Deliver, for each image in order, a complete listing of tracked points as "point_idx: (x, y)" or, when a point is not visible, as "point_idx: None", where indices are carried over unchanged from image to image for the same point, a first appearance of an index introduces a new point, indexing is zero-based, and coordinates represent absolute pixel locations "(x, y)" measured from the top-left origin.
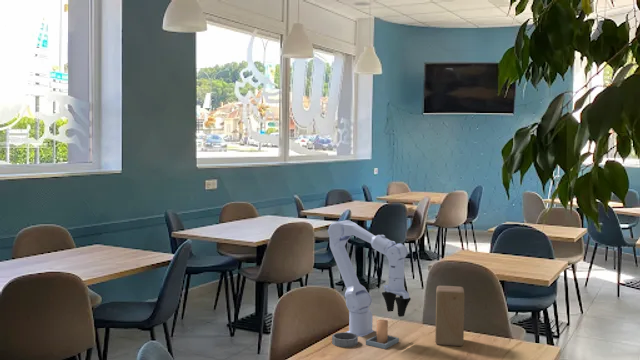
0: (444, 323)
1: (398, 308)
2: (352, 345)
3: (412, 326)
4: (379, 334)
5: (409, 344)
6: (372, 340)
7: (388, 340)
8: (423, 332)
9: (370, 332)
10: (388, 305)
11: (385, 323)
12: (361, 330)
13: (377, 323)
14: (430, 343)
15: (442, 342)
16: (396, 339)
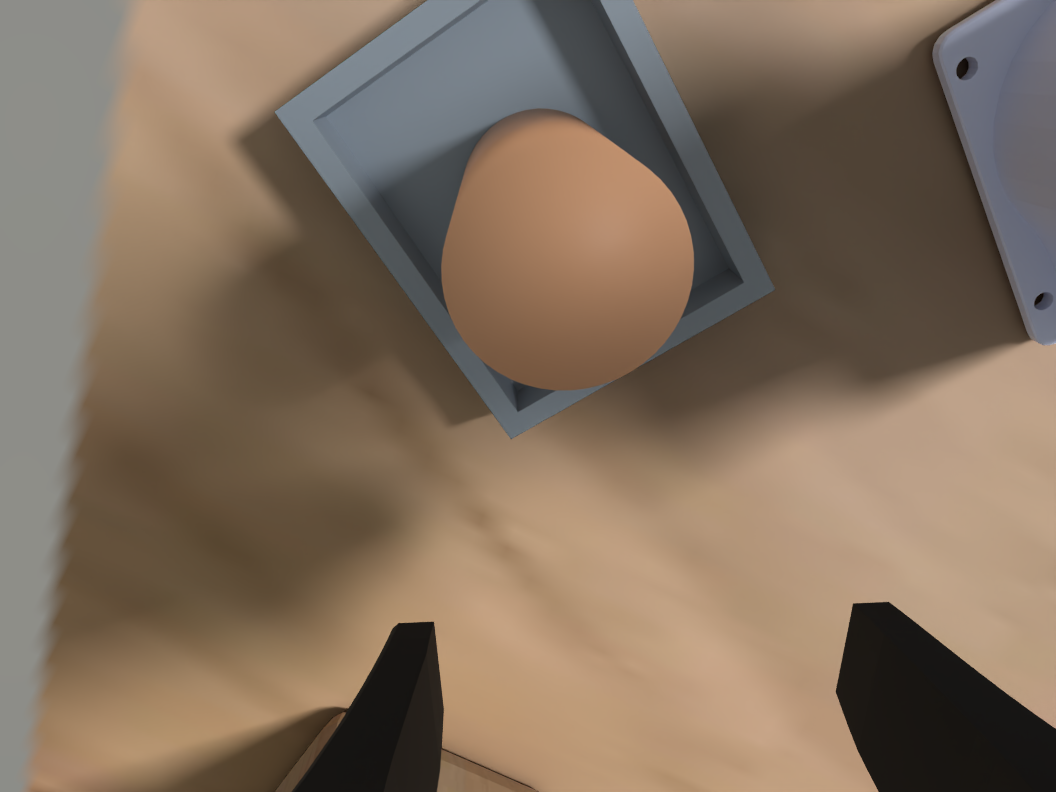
0: None
1: (330, 767)
2: None
3: None
4: (498, 137)
5: (435, 494)
6: (632, 72)
7: None
8: (729, 764)
9: (1013, 261)
10: (931, 716)
11: (442, 284)
12: (1051, 79)
13: (559, 137)
14: None
15: (300, 760)
16: (474, 387)
